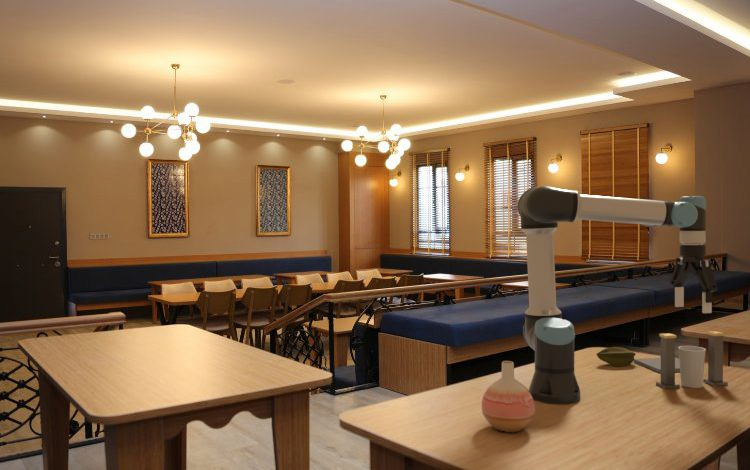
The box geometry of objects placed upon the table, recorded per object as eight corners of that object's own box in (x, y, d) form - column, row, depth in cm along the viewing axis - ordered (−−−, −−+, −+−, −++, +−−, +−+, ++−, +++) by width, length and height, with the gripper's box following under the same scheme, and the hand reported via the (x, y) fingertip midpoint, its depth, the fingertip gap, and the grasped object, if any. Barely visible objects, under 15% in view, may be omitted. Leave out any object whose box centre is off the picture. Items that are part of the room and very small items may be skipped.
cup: (709, 389, 198) (709, 351, 198) (681, 387, 200) (682, 350, 200) (701, 382, 206) (701, 346, 206) (675, 381, 208) (675, 345, 207)
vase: (524, 441, 155) (524, 371, 154) (473, 432, 162) (473, 364, 162) (541, 425, 167) (541, 359, 166) (493, 417, 174) (492, 354, 173)
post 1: (665, 389, 199) (665, 336, 198) (655, 384, 204) (656, 333, 203) (679, 388, 200) (679, 335, 199) (669, 383, 205) (670, 332, 204)
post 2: (713, 386, 202) (714, 334, 201) (703, 382, 207) (703, 331, 206) (727, 385, 202) (728, 333, 202) (717, 381, 207) (717, 330, 207)
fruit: (630, 370, 223) (630, 351, 223) (595, 365, 230) (595, 348, 230) (636, 363, 233) (636, 345, 233) (603, 359, 240) (603, 342, 239)
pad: (659, 372, 219) (659, 369, 219) (633, 362, 235) (633, 359, 235) (700, 370, 221) (700, 367, 221) (672, 360, 237) (672, 357, 237)
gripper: (730, 245, 190) (730, 315, 191) (678, 242, 215) (678, 303, 215) (708, 246, 189) (708, 316, 189) (658, 242, 213) (658, 304, 214)
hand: (692, 309), depth 202 cm, fingers open, 13 cm apart
